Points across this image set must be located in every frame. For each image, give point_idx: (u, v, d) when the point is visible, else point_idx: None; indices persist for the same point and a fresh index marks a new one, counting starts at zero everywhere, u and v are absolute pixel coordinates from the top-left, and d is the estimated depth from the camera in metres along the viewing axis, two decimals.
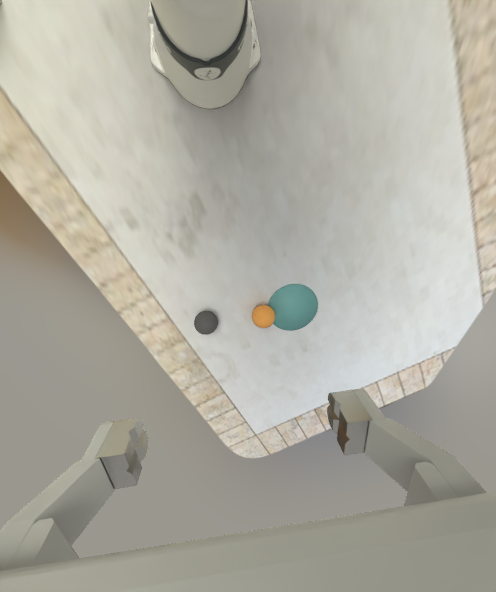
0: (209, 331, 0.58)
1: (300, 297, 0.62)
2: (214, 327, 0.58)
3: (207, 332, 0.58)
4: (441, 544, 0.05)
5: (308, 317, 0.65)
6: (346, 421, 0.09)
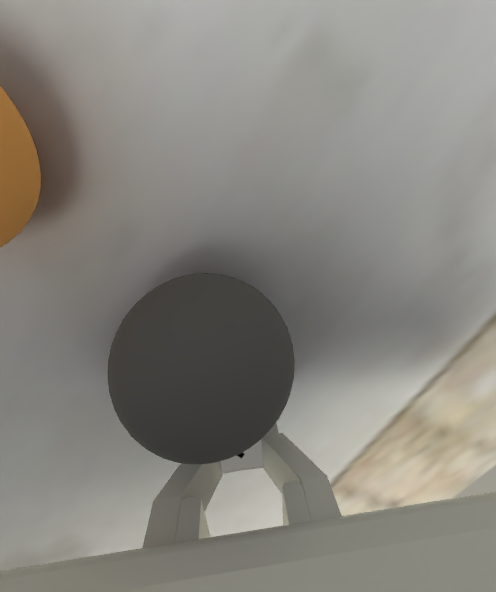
0: None
1: None
2: None
3: None
4: (441, 544, 0.05)
5: None
6: None
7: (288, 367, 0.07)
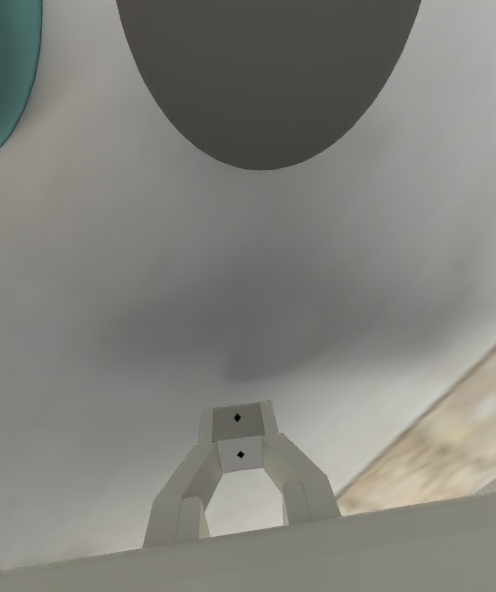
0: (293, 135, 0.05)
1: None
2: (348, 28, 0.03)
3: (281, 153, 0.05)
4: (441, 544, 0.05)
5: None
6: (238, 436, 0.09)
7: None
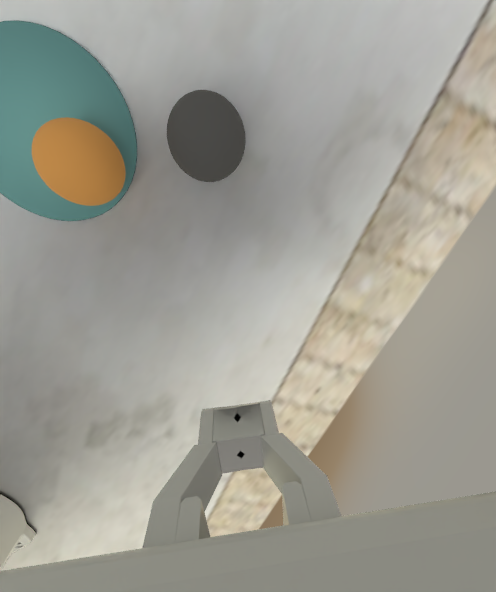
0: (218, 168, 0.17)
1: (6, 144, 0.19)
2: (222, 145, 0.16)
3: (217, 173, 0.18)
4: (441, 544, 0.05)
5: (14, 46, 0.17)
6: (238, 437, 0.09)
7: None
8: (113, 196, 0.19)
